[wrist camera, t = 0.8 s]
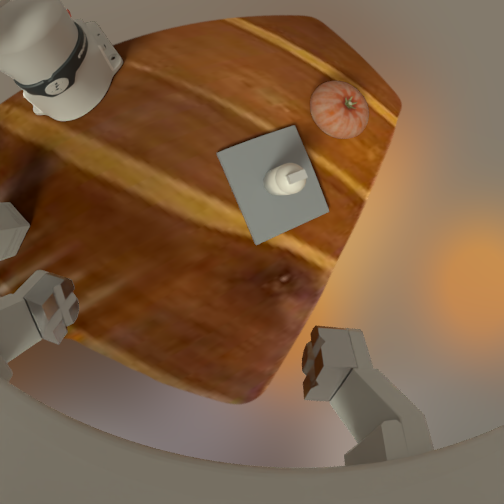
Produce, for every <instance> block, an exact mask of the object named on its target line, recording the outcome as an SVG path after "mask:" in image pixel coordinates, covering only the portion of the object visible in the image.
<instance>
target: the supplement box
mask: <svg viewBox="0 0 504 504" xmlns="http://www.w3.org/2000/svg"><path fill="white" fill-rule="evenodd" d="M29 227H30V224H29V223H28V222H27V221H26V220H25V219H24V218H23V216H22V215H21V214H20V213H19V212H18V211H17V210H16V208H15V207H14V206H13V205H12V204H11V203H10V202H3V203H0V261H1V260H4V259H6V258H9V257H12V256H15V255H16V254H17V251H18V249H19V247H20V245H21V243H22V241H23V239H24V237H25V235H26V233H27V231H28V229H29Z"/></svg>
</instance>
